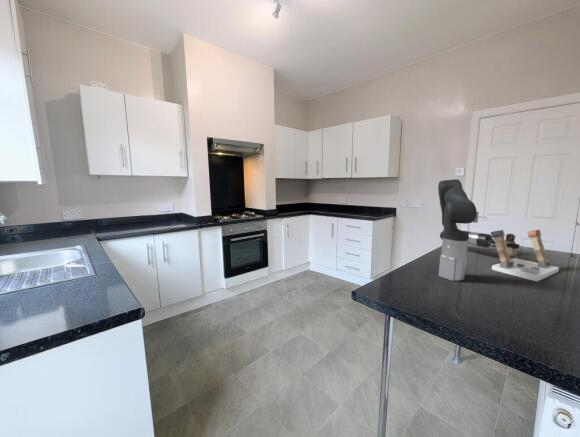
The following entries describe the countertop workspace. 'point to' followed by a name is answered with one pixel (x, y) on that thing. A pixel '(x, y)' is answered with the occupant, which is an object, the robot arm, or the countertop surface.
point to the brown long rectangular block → (538, 246)
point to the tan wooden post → (501, 246)
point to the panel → (526, 275)
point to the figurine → (511, 238)
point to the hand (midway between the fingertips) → (518, 246)
